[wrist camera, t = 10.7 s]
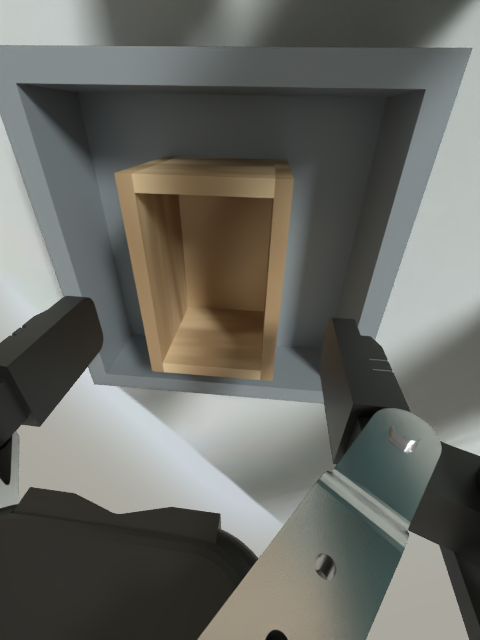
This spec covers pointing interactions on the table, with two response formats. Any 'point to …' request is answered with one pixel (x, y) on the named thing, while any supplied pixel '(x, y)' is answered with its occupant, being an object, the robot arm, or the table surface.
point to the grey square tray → (232, 142)
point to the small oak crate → (208, 260)
